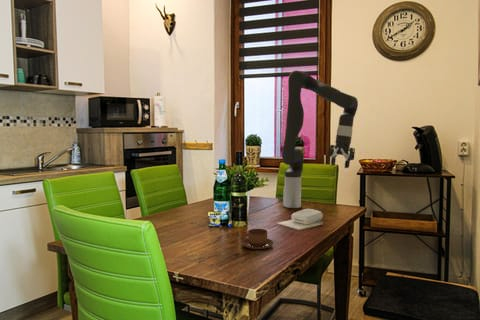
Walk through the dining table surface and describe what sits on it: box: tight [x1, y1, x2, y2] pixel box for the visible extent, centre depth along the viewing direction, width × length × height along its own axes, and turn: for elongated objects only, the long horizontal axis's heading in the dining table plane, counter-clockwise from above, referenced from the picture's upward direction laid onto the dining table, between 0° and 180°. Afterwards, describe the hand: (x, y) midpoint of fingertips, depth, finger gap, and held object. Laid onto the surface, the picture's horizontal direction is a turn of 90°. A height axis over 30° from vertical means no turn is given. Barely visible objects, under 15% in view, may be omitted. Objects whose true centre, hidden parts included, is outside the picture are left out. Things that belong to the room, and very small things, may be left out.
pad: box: [276, 219, 324, 231], centre depth 189 cm, size 14×16×1 cm
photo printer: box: [290, 208, 324, 224], centre depth 191 cm, size 10×4×12 cm
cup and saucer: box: [241, 228, 274, 250], centre depth 155 cm, size 12×12×6 cm
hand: (339, 166), depth 206 cm, fingers open, 8 cm apart
